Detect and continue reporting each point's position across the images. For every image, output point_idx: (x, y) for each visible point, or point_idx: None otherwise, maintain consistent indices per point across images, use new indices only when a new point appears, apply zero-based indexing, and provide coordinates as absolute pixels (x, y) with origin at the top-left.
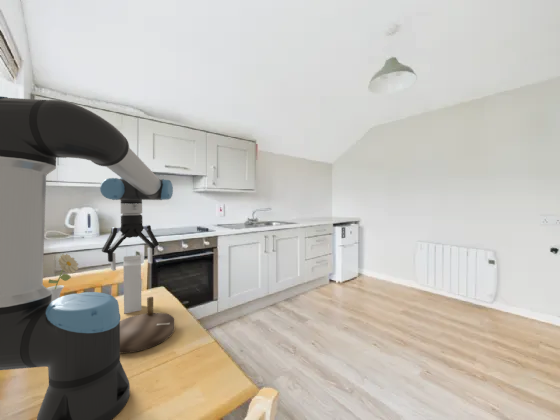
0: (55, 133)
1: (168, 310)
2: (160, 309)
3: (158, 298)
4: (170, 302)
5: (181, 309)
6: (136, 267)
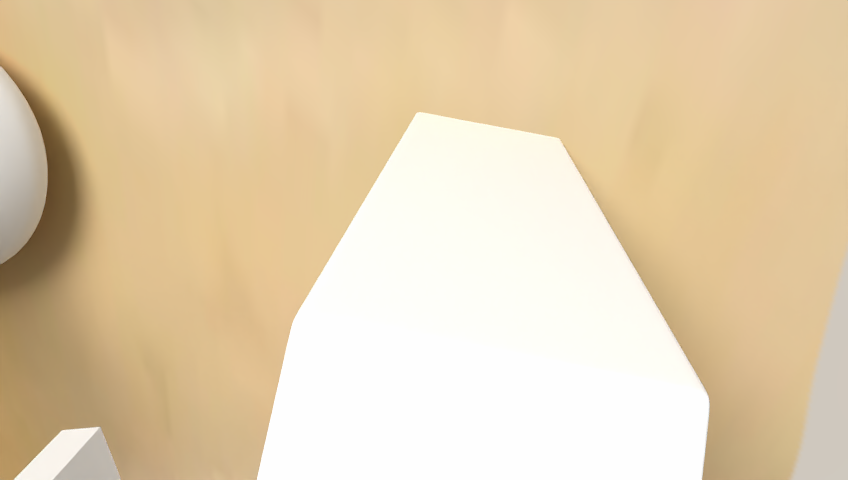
0: None
1: None
2: None
3: (770, 59)
4: (800, 264)
5: (782, 469)
6: None
